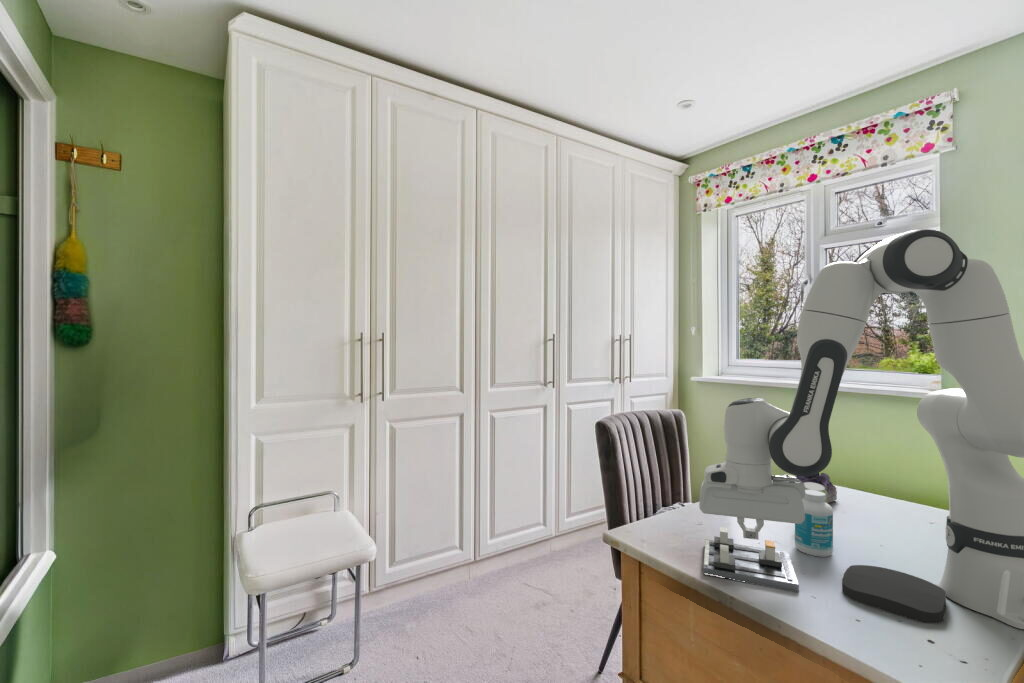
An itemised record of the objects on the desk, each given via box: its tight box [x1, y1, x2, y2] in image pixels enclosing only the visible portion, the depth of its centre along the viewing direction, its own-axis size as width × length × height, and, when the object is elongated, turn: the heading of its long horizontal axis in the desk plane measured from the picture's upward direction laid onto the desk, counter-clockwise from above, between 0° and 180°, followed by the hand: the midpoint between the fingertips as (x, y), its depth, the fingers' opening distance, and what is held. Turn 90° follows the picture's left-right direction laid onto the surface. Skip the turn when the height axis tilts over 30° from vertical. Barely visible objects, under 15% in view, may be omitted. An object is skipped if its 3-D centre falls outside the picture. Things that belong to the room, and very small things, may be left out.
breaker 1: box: [713, 526, 735, 550], centre depth 107 cm, size 4×4×4 cm
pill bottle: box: [794, 490, 834, 558], centre depth 108 cm, size 8×7×14 cm
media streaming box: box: [841, 564, 947, 624], centre depth 88 cm, size 15×15×3 cm
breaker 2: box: [714, 544, 735, 570], centre depth 97 cm, size 4×4×4 cm
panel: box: [702, 539, 800, 593], centre depth 100 cm, size 17×16×2 cm
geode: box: [784, 472, 838, 504], centre depth 142 cm, size 20×12×10 cm, turn 125°
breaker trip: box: [759, 539, 782, 567], centre depth 99 cm, size 4×4×4 cm
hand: (750, 538), depth 100 cm, fingers closed
